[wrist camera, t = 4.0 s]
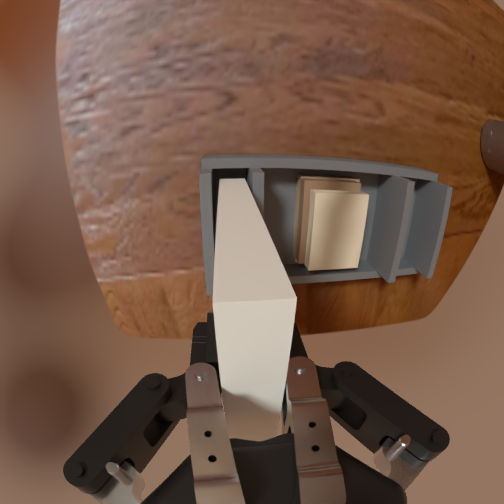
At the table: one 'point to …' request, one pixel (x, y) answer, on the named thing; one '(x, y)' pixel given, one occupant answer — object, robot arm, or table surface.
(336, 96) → the table surface
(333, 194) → the offcuts
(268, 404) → the white rectangular board
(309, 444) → the robot arm
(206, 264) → the rack
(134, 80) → the table surface
